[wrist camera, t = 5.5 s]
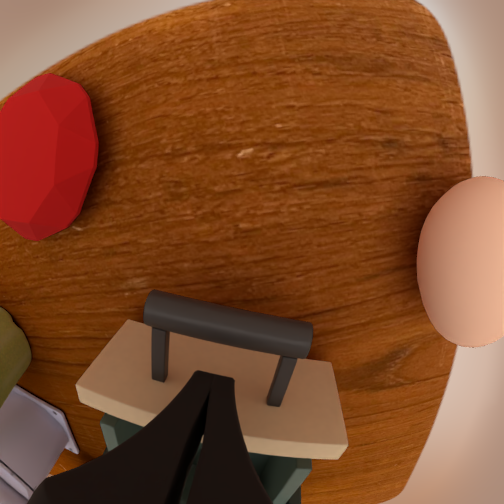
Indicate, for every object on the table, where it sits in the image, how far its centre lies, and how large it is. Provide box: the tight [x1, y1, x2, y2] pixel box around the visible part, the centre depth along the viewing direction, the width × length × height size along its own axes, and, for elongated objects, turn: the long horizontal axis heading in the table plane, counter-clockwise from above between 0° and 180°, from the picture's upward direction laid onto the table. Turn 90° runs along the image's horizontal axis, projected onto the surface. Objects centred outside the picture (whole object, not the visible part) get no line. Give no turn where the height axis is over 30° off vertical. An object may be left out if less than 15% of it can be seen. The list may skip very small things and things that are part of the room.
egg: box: [417, 176, 504, 348], centre depth 10 cm, size 7×7×8 cm
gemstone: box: [0, 73, 99, 241], centre depth 12 cm, size 9×9×3 cm
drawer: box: [76, 289, 348, 504], centre depth 14 cm, size 17×11×6 cm
